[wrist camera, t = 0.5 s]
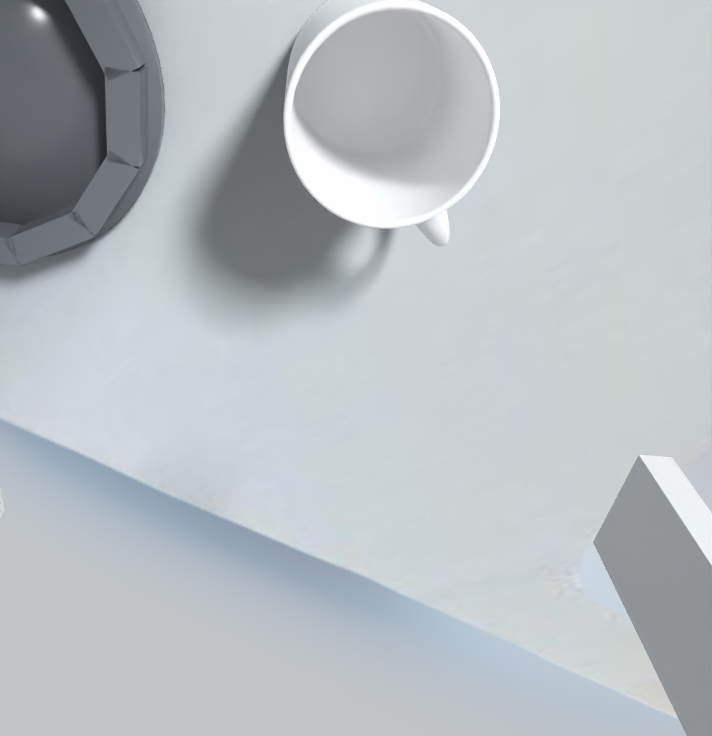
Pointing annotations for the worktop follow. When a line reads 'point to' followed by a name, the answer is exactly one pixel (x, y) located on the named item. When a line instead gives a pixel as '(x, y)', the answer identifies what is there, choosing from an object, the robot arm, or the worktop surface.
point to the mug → (389, 112)
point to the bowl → (73, 121)
